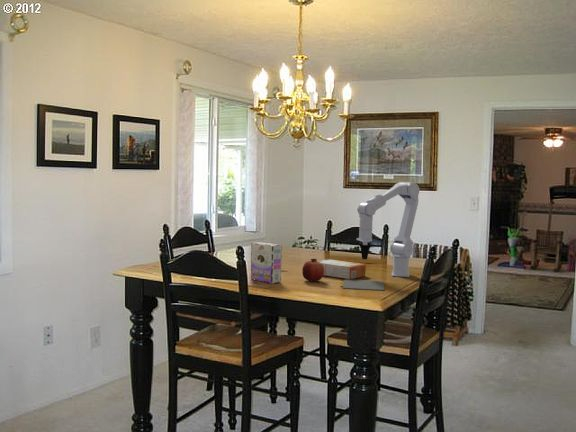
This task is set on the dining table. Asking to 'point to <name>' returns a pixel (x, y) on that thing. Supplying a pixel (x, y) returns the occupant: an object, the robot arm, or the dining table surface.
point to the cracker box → (343, 269)
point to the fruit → (313, 270)
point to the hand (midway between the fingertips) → (364, 259)
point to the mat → (363, 285)
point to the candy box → (266, 262)
